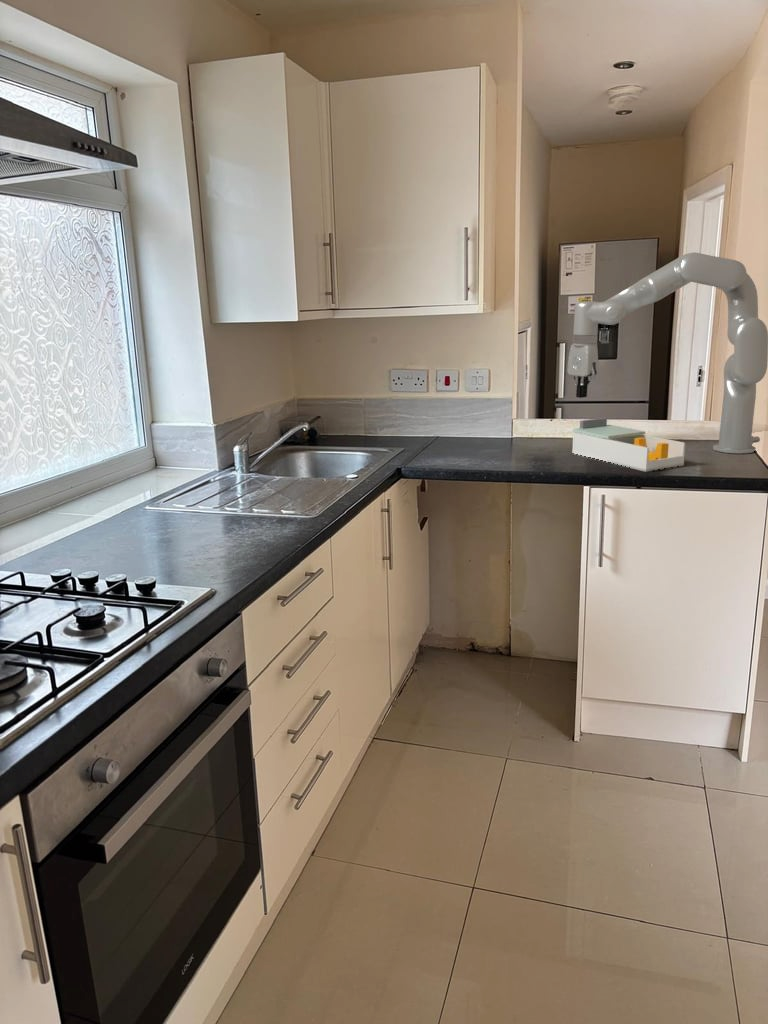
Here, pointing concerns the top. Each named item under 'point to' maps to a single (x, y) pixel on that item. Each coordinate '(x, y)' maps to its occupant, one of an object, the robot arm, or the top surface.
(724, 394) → the robot arm
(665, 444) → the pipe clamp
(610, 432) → the lid
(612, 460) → the housing
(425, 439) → the top surface
